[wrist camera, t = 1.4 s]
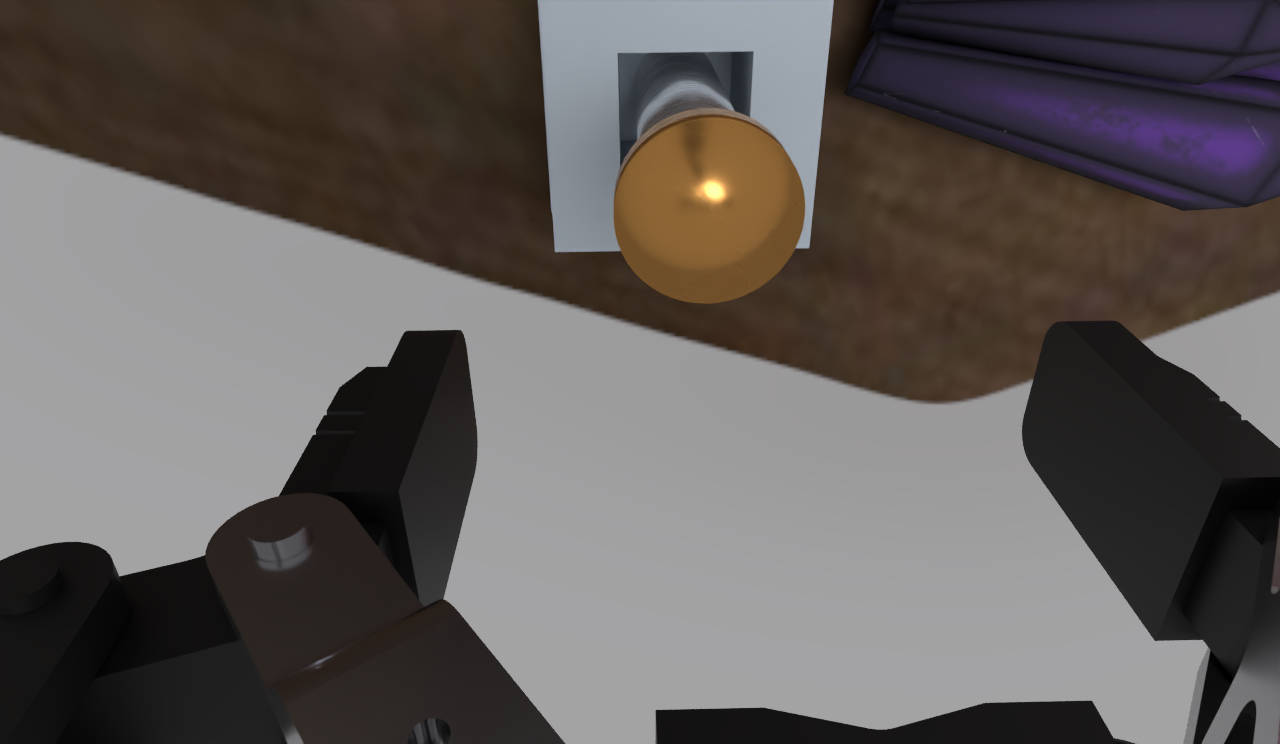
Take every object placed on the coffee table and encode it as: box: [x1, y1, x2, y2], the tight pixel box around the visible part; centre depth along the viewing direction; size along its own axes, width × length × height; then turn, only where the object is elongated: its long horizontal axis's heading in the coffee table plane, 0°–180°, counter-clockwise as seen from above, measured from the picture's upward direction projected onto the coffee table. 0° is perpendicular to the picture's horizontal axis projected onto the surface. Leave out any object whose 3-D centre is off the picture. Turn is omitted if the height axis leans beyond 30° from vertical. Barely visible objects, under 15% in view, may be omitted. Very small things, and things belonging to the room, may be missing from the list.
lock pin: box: [613, 52, 805, 304], centre depth 23 cm, size 4×4×13 cm
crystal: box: [845, 0, 1280, 211], centre depth 26 cm, size 7×12×20 cm
